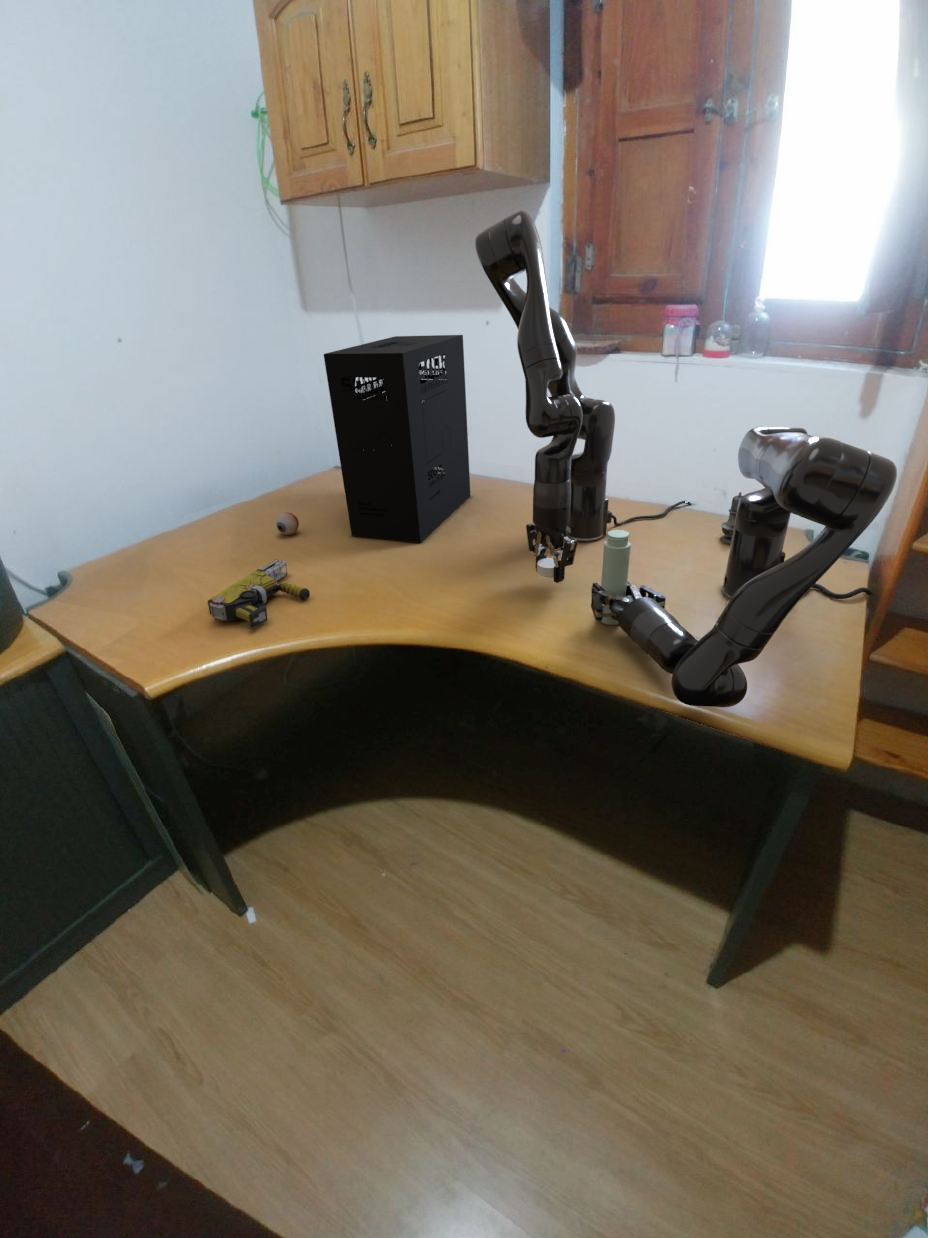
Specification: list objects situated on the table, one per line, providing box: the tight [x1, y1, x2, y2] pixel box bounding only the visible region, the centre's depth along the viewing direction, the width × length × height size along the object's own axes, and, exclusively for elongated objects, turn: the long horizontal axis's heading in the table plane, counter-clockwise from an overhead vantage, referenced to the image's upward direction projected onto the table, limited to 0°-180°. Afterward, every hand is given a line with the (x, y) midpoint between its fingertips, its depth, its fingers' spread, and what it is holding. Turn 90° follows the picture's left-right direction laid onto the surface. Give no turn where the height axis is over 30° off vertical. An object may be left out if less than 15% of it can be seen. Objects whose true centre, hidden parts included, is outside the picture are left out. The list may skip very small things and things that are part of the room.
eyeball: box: [275, 511, 300, 536], centre depth 163 cm, size 6×6×6 cm
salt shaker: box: [719, 491, 743, 545], centre depth 143 cm, size 6×6×12 cm
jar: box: [600, 529, 632, 626], centre depth 113 cm, size 5×5×18 cm
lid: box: [536, 557, 555, 578], centre depth 128 cm, size 5×5×2 cm
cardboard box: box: [323, 334, 471, 544], centre depth 162 cm, size 38×20×45 cm, turn 159°
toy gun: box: [207, 558, 311, 629], centre depth 130 cm, size 5×24×15 cm
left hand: (549, 576), depth 129 cm, fingers closed on lid, 5 cm apart
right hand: (607, 585), depth 116 cm, fingers closed on jar, 4 cm apart
